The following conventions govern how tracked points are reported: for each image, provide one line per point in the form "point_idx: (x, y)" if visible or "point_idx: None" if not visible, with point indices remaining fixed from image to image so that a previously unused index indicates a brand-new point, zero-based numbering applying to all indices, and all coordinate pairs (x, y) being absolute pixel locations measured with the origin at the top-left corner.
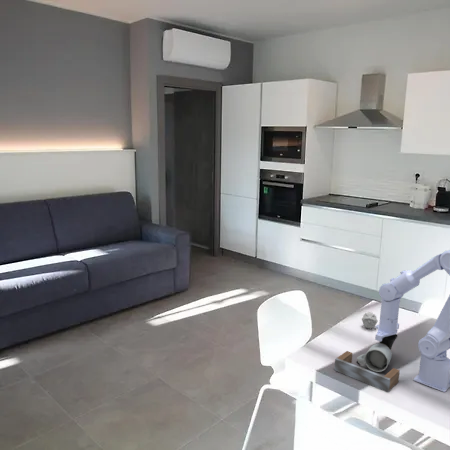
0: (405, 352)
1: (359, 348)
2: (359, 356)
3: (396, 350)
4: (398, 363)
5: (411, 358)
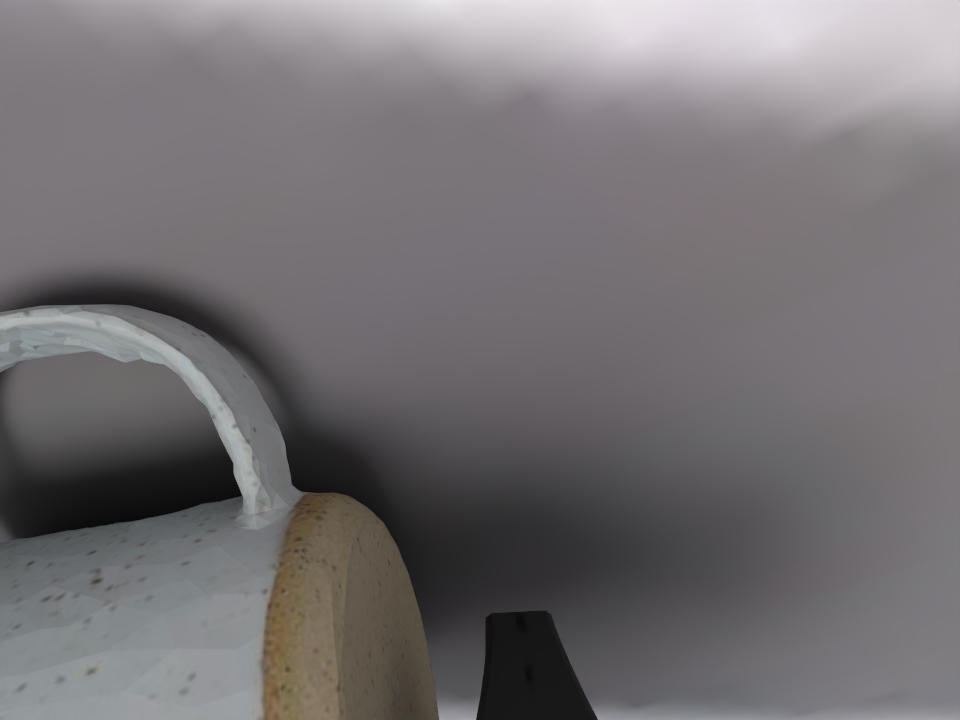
0: (941, 606)
1: (659, 4)
2: (83, 330)
3: (952, 520)
4: None
5: (796, 691)
